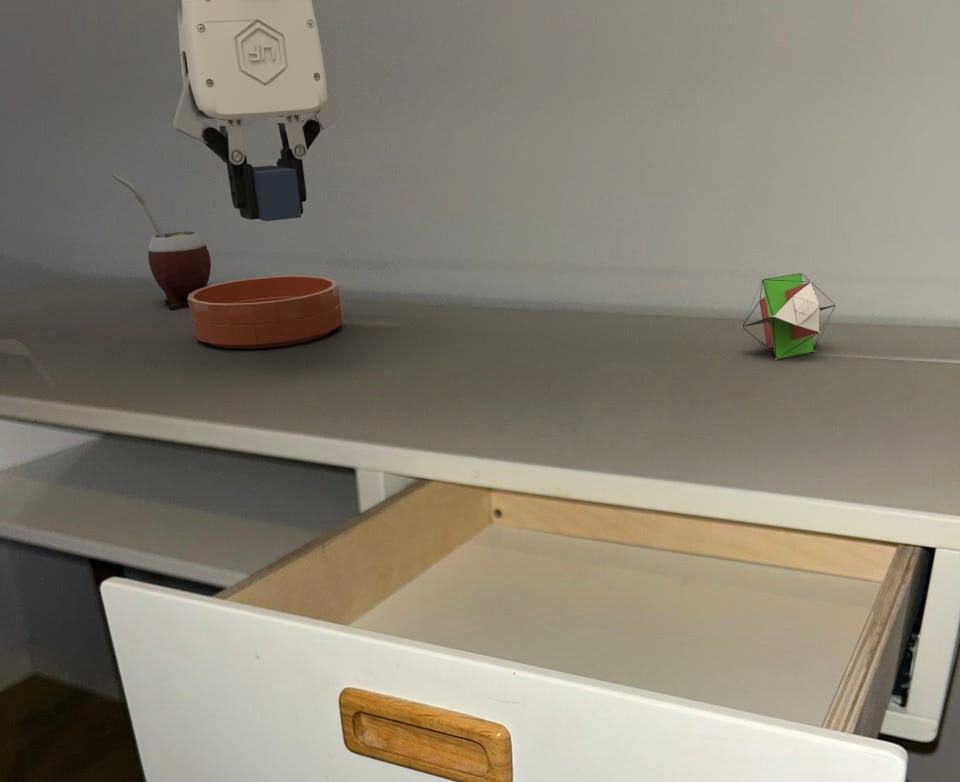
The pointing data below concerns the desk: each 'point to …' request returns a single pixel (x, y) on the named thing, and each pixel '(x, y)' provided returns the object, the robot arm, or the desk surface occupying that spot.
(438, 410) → the desk surface
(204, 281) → the mate gourd
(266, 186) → the blue rectangular block
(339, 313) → the bowl
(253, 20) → the robot arm
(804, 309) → the geometric puzzle
